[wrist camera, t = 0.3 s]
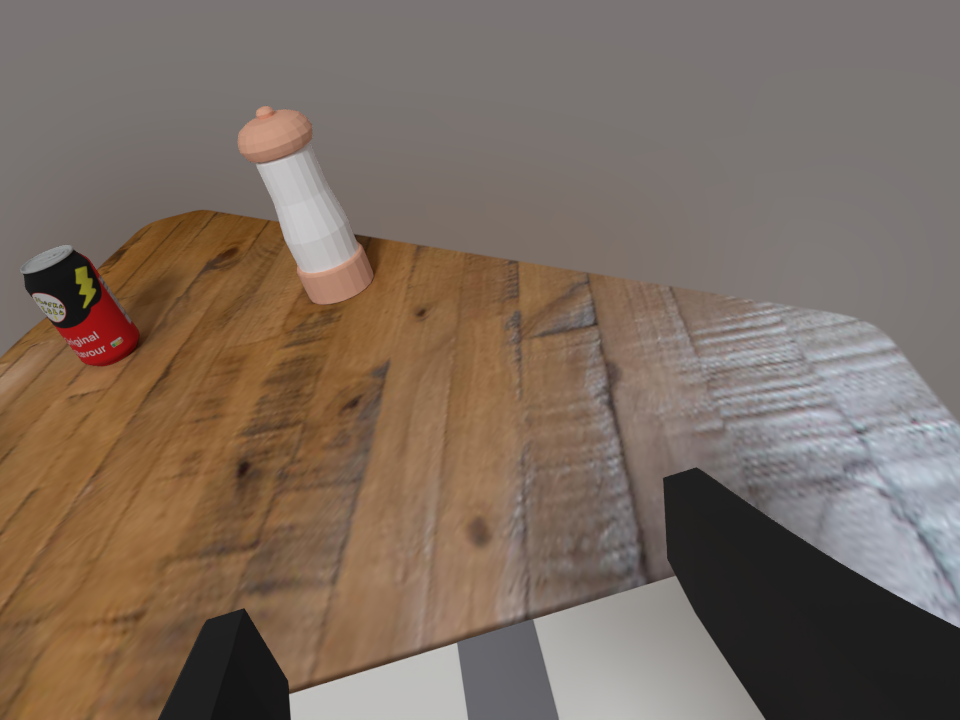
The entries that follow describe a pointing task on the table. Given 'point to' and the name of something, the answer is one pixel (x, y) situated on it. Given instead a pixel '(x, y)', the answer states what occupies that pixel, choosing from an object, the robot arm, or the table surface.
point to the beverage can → (80, 305)
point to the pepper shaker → (306, 206)
